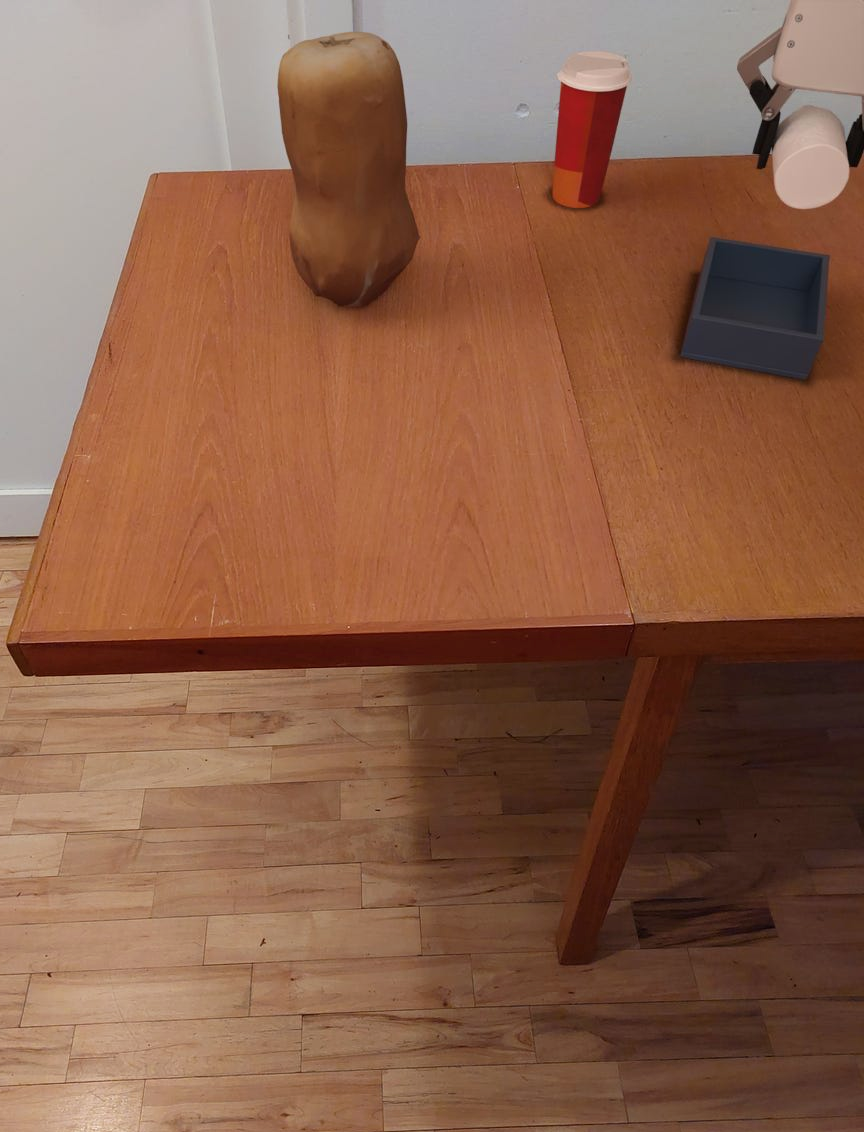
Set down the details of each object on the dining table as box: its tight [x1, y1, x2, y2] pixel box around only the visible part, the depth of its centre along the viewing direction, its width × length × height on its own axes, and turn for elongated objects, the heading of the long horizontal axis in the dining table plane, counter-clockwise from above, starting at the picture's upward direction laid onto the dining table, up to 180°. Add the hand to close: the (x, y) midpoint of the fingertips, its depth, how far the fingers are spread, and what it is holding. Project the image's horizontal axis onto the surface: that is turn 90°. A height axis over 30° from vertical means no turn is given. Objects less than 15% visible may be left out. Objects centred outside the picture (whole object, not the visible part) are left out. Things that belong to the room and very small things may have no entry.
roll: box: [771, 104, 850, 210], centre depth 79 cm, size 6×12×6 cm, turn 166°
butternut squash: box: [276, 31, 421, 308], centre depth 89 cm, size 14×13×25 cm
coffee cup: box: [552, 50, 633, 209], centre depth 106 cm, size 8×8×15 cm
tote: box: [679, 236, 831, 381], centre depth 93 cm, size 16×12×5 cm
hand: (801, 166), depth 80 cm, fingers closed on roll, 6 cm apart
